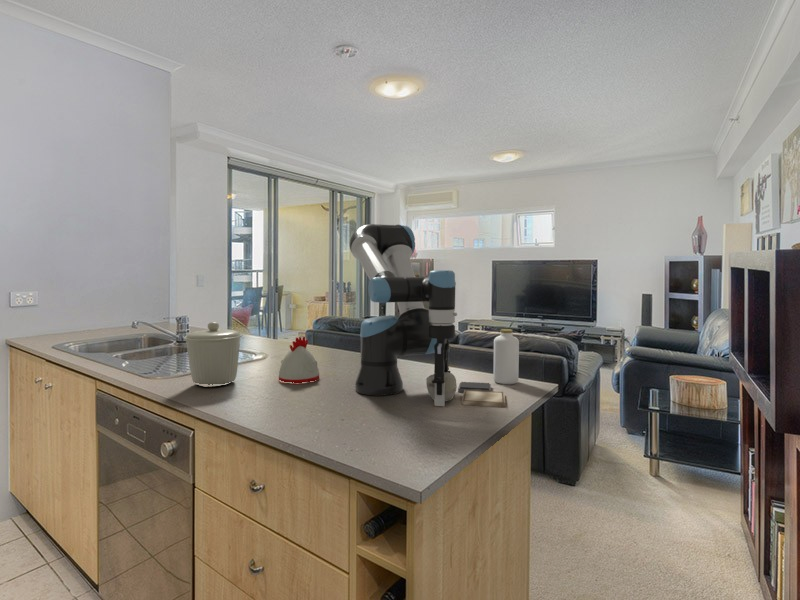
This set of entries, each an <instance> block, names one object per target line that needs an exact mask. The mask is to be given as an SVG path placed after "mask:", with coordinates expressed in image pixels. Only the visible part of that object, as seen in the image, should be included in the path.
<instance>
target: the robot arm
mask: <svg viewBox="0 0 800 600" xmlns="http://www.w3.org/2000/svg"><path fill="white" fill-rule="evenodd" d="M415 249H416V238H415V234H414V232H413V230H412V229H411V228H410V226H408V225H403V224H374V223H369V224H364V225H362V226H360V227H358V228H357V229H355V231H354V232H353V233H352V235H351V236H350V239H349V250H350V252H351V254H352V256H353V257H354V258H355V259H357V260H358V261H359V262H360V264H361V267H362V268H363V270H364V272H365V274H366V276H367V277H368V280H369V281H368V289H367V291H368V292H367V293H368V297H369V299H370V301H371V302H373V303H382V304H385V303H397V308H398V311H399V315H398V317H397V316H396V315H380V316H375V317H374V316H373V317H370V318H366V319H364V320H362V322H361V324H360V332H359V333H360V334H359V337H360V368H359V371H358V374H357V378H356V380H355V386H354V387H355V390H354V391H355V392H356V393H358V394H360V395H364V396H377V397H378V396H379V397H380V396H389V395H395V394H398V393H401V392H403V389H404V388H403V387H404V386H403V385H404V384H403V379H402V376H401V373H400V371H399V366H398V357H400V356H401V357H402V356H418V355H419V356H421V355H423V356H425V355H428V354H429V355H430V354H434V368H433V369H434V371H433V372H434V373H433V374H434V380H432V383H435V400H434V406H435V407H445V405H446V404H445V403H446V401H445V383H444V372H450V373H452V372H451V371H450V367H449V353H450V352H449V351H450V343H449V339H450V340H451V339H455V336H456V326H455V322H456V317H457V316H458V313H457V312H456V285H457V283H456V274H455V272H454V270H449V269H448V270H440V269H439V270H430V271H429V274H428V276H416V275H415V269H414V268H413V267H414V266H413V264H412V260H411V258H412V257H413V254H414V253H415ZM424 302H426V303H428V308H426V307H425V306H424Z"/></svg>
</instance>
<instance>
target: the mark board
mask: <svg viewBox="0 0 800 600" xmlns="http://www.w3.org/2000/svg"><path fill="white" fill-rule="evenodd" d="M461 405H464V406H465V405H466V406H483V407H496V408H497V407H500V408H505V407H506V398H505V392H504V391H493V390H491V391H473V390H464V392H463V394H462V398H461Z"/></svg>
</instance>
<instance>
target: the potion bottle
mask: <svg viewBox="0 0 800 600" xmlns="http://www.w3.org/2000/svg"><path fill="white" fill-rule="evenodd" d="M513 331H514V330H513V329H510V328H509V329H508V328H502V329H500V332H499V334H500V335H498V336H495V337H494V339H493V377H492V378H493V381H494V382H495V383H497V384H500V385H515V384H517V383H518V382H519V367H520V366H519V364H520V363H519V361H520V359H519V357H520V355H519V354H520V352H519V351H520V340H519V338H517V337H516V336H514V335H513V334H514V332H513Z"/></svg>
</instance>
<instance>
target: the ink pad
mask: <svg viewBox="0 0 800 600" xmlns="http://www.w3.org/2000/svg"><path fill="white" fill-rule="evenodd" d="M491 386H492V384H490V382H476V381H475V382H474V381H473V382H472V381H461V382H459V385H458V387H457V392H458V393H464V390H473V391H492V388H491Z"/></svg>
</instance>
